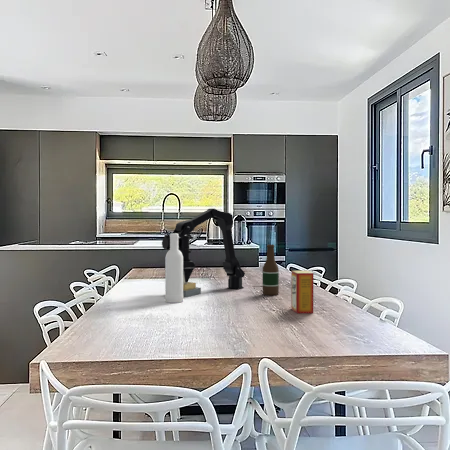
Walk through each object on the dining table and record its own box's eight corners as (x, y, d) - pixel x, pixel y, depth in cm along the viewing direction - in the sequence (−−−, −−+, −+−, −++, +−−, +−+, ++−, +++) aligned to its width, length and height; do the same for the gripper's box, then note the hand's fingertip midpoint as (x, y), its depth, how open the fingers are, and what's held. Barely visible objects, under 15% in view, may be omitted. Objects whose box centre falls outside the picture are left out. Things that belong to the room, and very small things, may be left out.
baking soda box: (291, 308, 198) (291, 269, 197) (307, 308, 198) (307, 269, 198) (296, 313, 188) (296, 272, 188) (313, 313, 189) (313, 272, 189)
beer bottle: (277, 296, 229) (278, 245, 228) (261, 295, 230) (261, 245, 230) (279, 293, 236) (279, 244, 236) (263, 292, 238) (263, 244, 237)
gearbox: (200, 293, 235) (200, 282, 235) (185, 297, 225) (185, 285, 224) (177, 291, 242) (177, 280, 242) (161, 294, 232) (161, 283, 232)
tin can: (190, 288, 233) (190, 272, 233) (184, 289, 230) (184, 273, 229) (182, 287, 236) (182, 272, 236) (176, 288, 232) (176, 273, 232)
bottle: (185, 300, 217) (185, 233, 216) (179, 303, 209) (179, 233, 209) (169, 299, 219) (169, 233, 218) (162, 302, 211) (162, 233, 211)
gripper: (161, 247, 238) (162, 279, 238) (172, 250, 221) (172, 284, 221) (183, 247, 242) (183, 278, 243) (195, 249, 225) (195, 283, 225)
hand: (183, 281), depth 233 cm, fingers open, 9 cm apart
